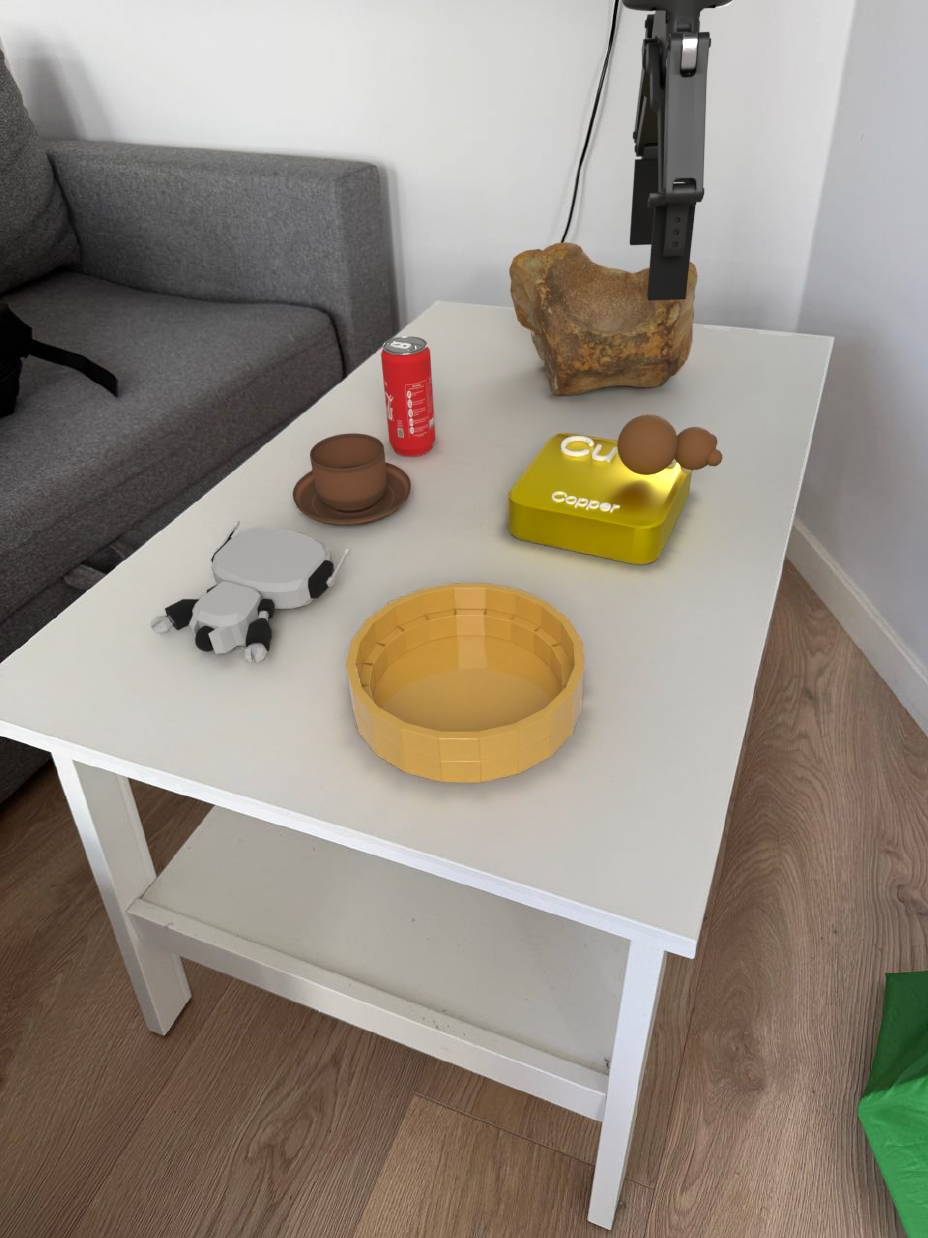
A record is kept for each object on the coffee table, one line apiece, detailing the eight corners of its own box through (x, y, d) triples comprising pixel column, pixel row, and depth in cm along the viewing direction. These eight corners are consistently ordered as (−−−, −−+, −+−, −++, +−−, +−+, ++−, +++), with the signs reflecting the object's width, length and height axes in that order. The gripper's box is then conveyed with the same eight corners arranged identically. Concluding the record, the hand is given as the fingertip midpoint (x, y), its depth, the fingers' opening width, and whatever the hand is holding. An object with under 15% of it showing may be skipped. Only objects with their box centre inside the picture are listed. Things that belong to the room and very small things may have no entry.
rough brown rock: (484, 405, 112) (482, 287, 102) (515, 342, 124) (516, 230, 113) (675, 429, 107) (694, 307, 97) (689, 361, 119) (708, 245, 108)
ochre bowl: (575, 630, 77) (577, 582, 74) (586, 790, 63) (590, 740, 60) (370, 629, 78) (364, 582, 75) (338, 787, 64) (329, 737, 61)
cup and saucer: (289, 484, 98) (280, 432, 94) (399, 467, 100) (395, 415, 96) (302, 545, 88) (292, 490, 85) (423, 524, 90) (419, 469, 87)
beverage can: (422, 462, 100) (415, 357, 93) (381, 453, 102) (371, 350, 95) (443, 441, 104) (438, 338, 96) (403, 433, 106) (395, 332, 98)
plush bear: (610, 452, 90) (707, 460, 90) (615, 484, 86) (717, 491, 86) (620, 401, 86) (721, 409, 86) (626, 431, 82) (732, 439, 82)
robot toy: (270, 690, 74) (360, 577, 83) (257, 650, 71) (353, 538, 80) (150, 652, 78) (249, 549, 88) (133, 613, 75) (238, 510, 85)
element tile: (501, 537, 88) (501, 494, 85) (554, 465, 99) (555, 424, 96) (654, 570, 83) (659, 526, 80) (692, 490, 94) (698, 448, 91)
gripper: (609, -69, 69) (597, 226, 82) (645, -56, 50) (621, 327, 63) (710, -74, 69) (681, 223, 82) (786, -64, 49) (732, 324, 62)
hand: (655, 269), depth 72 cm, fingers open, 13 cm apart
